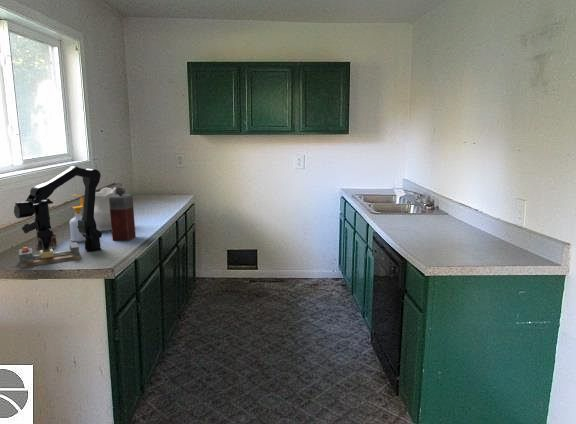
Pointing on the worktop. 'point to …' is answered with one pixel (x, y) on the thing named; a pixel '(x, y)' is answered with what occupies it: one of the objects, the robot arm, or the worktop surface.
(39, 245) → the pottery mug
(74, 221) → the soap bottle
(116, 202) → the brown syrup bottle
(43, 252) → the carriage
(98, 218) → the ceramic pitcher
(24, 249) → the orange ball
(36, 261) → the rail board
